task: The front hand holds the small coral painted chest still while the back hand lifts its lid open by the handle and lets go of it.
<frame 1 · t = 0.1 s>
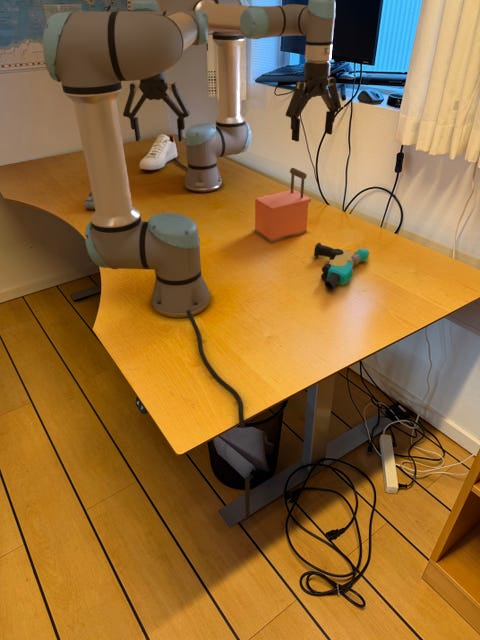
front hand: (159, 140, 150), 28 cm above the table, tool pointing down, fingers open, 13 cm apart
back hand: (312, 137, 150), 28 cm above the table, tool pointing down, fingers open, 13 cm apart
chest: (280, 231, 159), on the table
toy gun: (111, 205, 179), on the table
lid: (283, 187, 151), point 15 cm above the table, hinge at 0.0°
sneaker: (158, 164, 218), on the table
toy gun 2: (332, 271, 137), on the table
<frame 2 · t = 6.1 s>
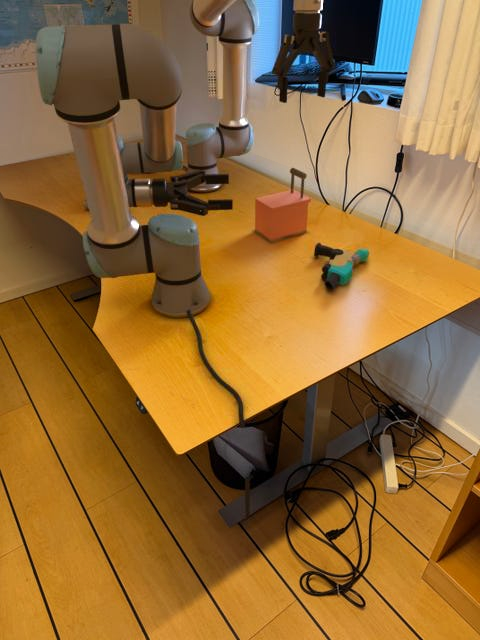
front hand: (230, 191, 131), 22 cm above the table, tool horizontal, fingers open, 13 cm apart
back hand: (302, 99, 138), 40 cm above the table, tool pointing down, fingers open, 13 cm apart
nothing on the table moved.
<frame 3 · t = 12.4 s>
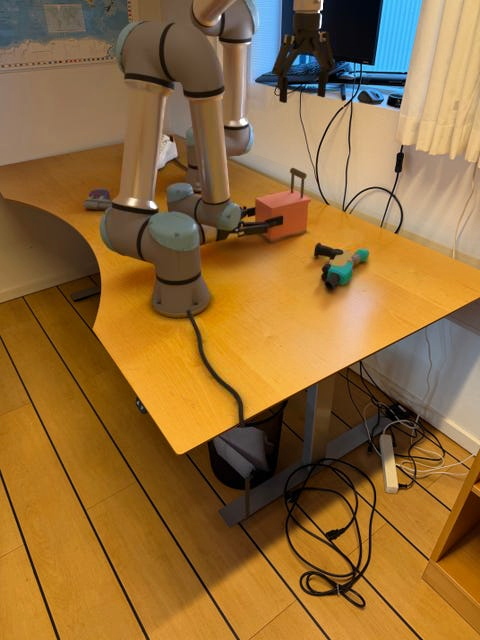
front hand: (273, 214, 154), 7 cm above the table, tool horizontal, fingers closed on chest, 10 cm apart
back hand: (302, 99, 138), 40 cm above the table, tool pointing down, fingers open, 13 cm apart
chest: (280, 231, 159), on the table, touching front hand
everything else where it was.
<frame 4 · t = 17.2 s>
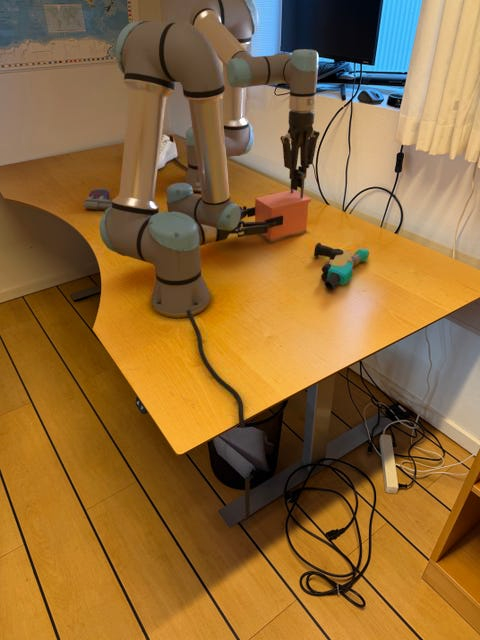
front hand: (273, 214, 154), 7 cm above the table, tool horizontal, fingers closed on chest, 10 cm apart
back hand: (297, 188, 153), 14 cm above the table, tool pointing down, fingers closed on lid, 2 cm apart
chest: (280, 231, 159), on the table, touching front hand
lid: (283, 187, 151), point 15 cm above the table, hinge at 0.0°, touching back hand
everything else where it was.
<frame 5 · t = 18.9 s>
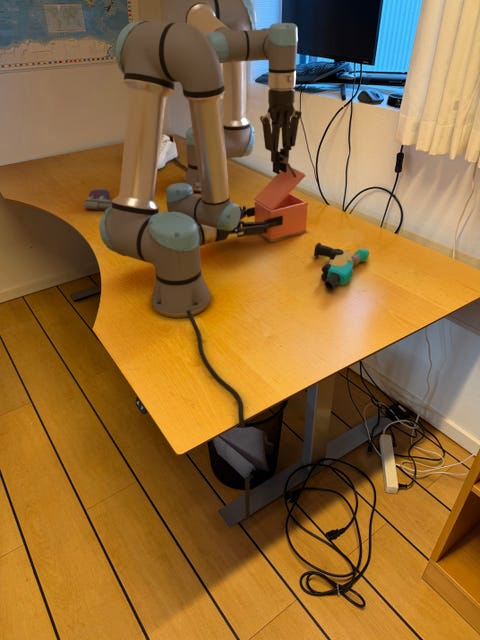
front hand: (273, 214, 154), 7 cm above the table, tool horizontal, fingers closed on chest, 10 cm apart
back hand: (279, 171, 147), 21 cm above the table, tool pointing down, fingers closed on lid, 2 cm apart
chest: (280, 231, 159), on the table, touching front hand
lid: (273, 178, 147), point 19 cm above the table, hinge at 36.1°, touching back hand
everything else where it was.
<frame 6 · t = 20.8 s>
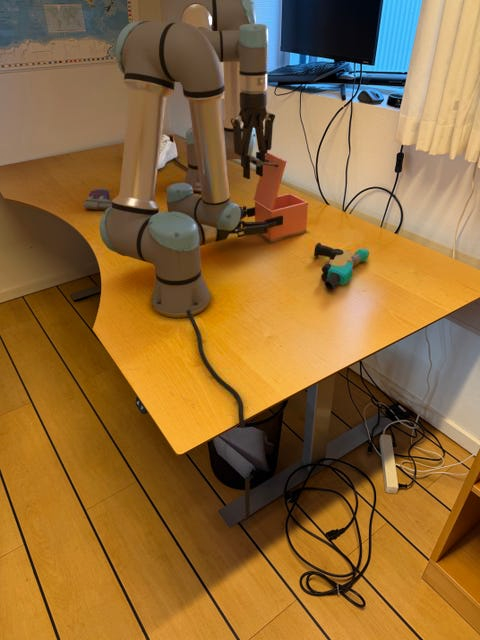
front hand: (273, 214, 154), 7 cm above the table, tool horizontal, fingers closed on chest, 10 cm apart
back hand: (252, 176, 143), 21 cm above the table, tool pointing down, fingers open, 4 cm apart
chest: (280, 231, 159), on the table, touching front hand
lid: (258, 179, 144), point 19 cm above the table, hinge at 72.8°
everything else where it was.
when the front hand's fingers open (7 cm above the table, at t = 24.8 s): chest stays where it is, on the table.
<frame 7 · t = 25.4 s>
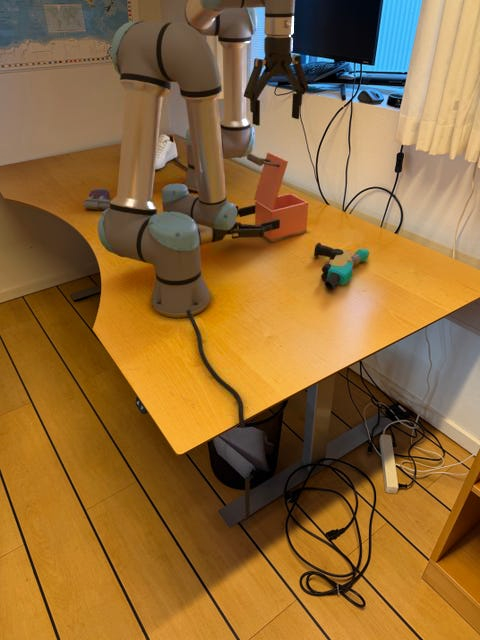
front hand: (267, 215, 153), 7 cm above the table, tool horizontal, fingers open, 13 cm apart
back hand: (276, 121, 137), 36 cm above the table, tool pointing down, fingers open, 13 cm apart
chest: (280, 231, 159), on the table
lid: (259, 179, 144), point 19 cm above the table, hinge at 71.5°
everything else where it was.
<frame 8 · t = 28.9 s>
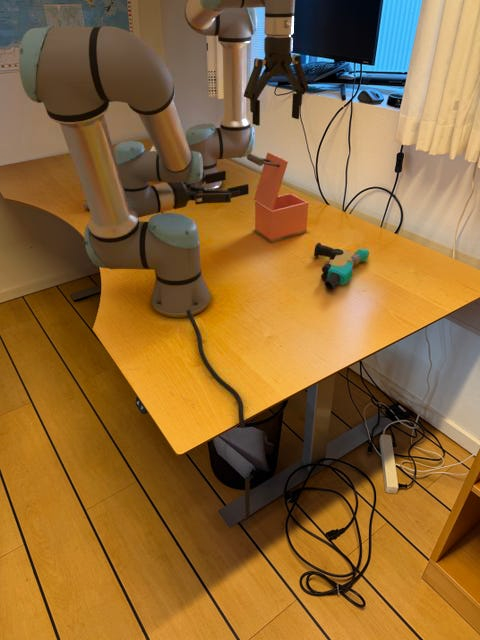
front hand: (236, 181, 141), 20 cm above the table, tool horizontal, fingers open, 13 cm apart
back hand: (276, 121, 137), 36 cm above the table, tool pointing down, fingers open, 13 cm apart
nothing on the table moved.
at the end: lid at +72° (first picture: +0°); the front hand is holding nothing; the back hand is holding nothing; chest tilted 0°; chest never tilted more than 1° during the clip; chest moved 0.1 cm from its start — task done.
